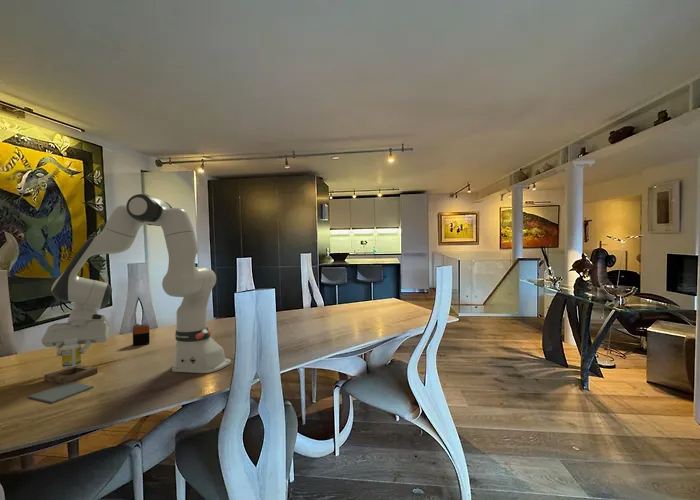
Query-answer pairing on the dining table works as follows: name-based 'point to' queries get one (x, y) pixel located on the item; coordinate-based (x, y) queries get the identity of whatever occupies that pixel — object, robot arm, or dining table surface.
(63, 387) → the charcoal mat
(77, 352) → the supplement bottle
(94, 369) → the walnut holder
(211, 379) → the dining table surface
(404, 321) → the dining table surface
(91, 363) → the dining table surface
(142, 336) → the battery
